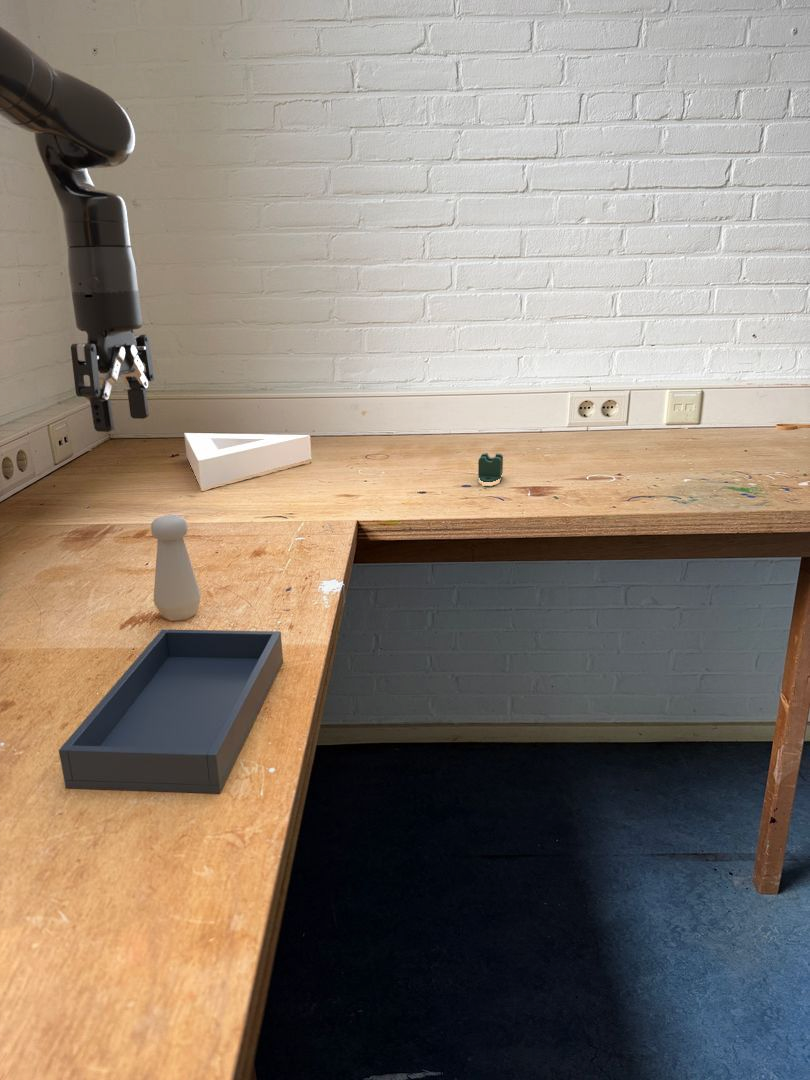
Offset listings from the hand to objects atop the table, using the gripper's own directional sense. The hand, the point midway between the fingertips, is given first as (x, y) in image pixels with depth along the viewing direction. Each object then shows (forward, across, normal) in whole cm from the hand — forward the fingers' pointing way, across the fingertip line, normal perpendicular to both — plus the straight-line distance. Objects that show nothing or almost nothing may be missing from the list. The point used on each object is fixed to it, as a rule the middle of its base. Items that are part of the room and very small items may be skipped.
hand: (123, 424), depth 99 cm
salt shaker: (+24, +4, +7) cm, 25 cm away
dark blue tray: (+24, +27, +19) cm, 40 cm away
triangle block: (+24, -65, -16) cm, 71 cm away
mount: (+24, -68, +40) cm, 82 cm away
